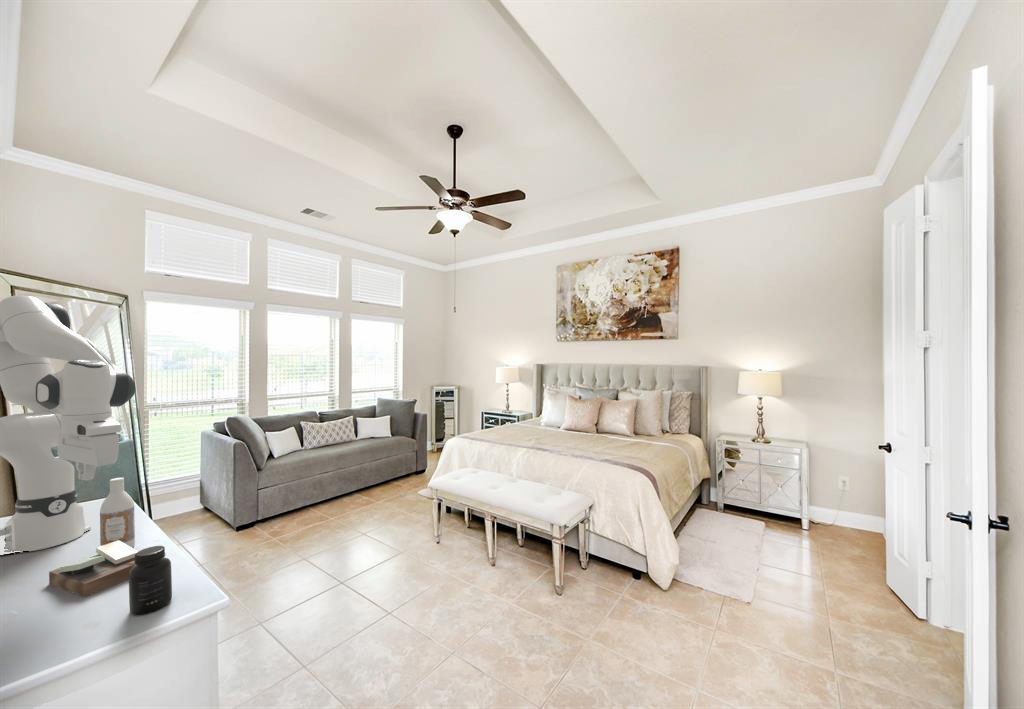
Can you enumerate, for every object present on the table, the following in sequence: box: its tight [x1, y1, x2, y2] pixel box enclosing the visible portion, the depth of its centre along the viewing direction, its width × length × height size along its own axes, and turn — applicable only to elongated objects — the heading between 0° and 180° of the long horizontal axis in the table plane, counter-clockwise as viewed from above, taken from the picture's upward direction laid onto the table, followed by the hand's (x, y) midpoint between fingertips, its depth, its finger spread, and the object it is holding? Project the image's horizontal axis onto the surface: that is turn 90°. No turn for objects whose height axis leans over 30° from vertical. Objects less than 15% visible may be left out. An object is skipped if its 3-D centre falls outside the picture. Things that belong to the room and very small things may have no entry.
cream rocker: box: [95, 540, 139, 564], centre depth 103 cm, size 9×4×1 cm, turn 68°
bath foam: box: [99, 477, 136, 548], centre depth 115 cm, size 7×7×20 cm
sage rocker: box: [59, 555, 105, 572], centre depth 97 cm, size 9×4×1 cm, turn 68°
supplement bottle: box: [128, 545, 173, 617], centre depth 87 cm, size 7×7×12 cm
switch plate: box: [48, 554, 136, 598], centre depth 100 cm, size 16×12×4 cm
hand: (86, 479), depth 102 cm, fingers closed
